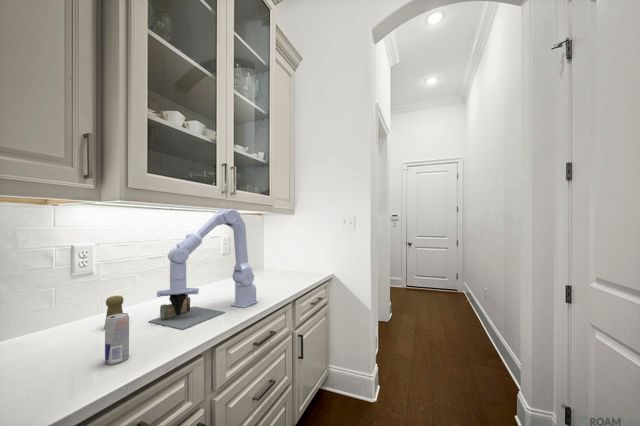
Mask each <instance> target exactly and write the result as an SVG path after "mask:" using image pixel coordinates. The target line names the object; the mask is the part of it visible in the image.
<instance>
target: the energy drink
mask: <svg viewBox="0 0 640 426" xmlns="http://www.w3.org/2000/svg"><path fill="white" fill-rule="evenodd" d="M104 327H105V329H104V363H105V364H106V365H117V364H120V363H123V362H125V361H127V360H128V359H129V358H130V316H129V313H128V312H123V313H118V314H113V315H110V316H108V317H106V316H105V320H104Z"/></svg>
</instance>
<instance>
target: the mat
mask: <svg viewBox="0 0 640 426" xmlns="http://www.w3.org/2000/svg"><path fill="white" fill-rule="evenodd" d="M223 314H226V311H222V310H216V309H211V308H205V307H198V306H190V311H186V312H183V313H180V315H174V316H172V317H169V318H166V319H160V317H158V318H153V319H151V320H148V323H150V324H155V325H159V326H163V327H167V328H172V329H176V330H181V331H184V330H187V329H189V328H191V327H194V326H196V325H199V324H202V323H204V322H206V321H208V320H211V319H214V318H216V317H218V316H221V315H223Z"/></svg>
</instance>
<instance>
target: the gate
mask: <svg viewBox="0 0 640 426" xmlns="http://www.w3.org/2000/svg"><path fill="white" fill-rule="evenodd" d="M160 307H161V319H166V318H169V317H172V316H174V315H176V314H175V310H174V307H173V305H172V303H169V304H165V303H164V304H161V305H160ZM190 307H191V297H189V296H188V297H187V298H185V300H184V302H183V305H182V309H181V313H183V312H186V311H190Z"/></svg>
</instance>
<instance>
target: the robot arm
mask: <svg viewBox="0 0 640 426" xmlns="http://www.w3.org/2000/svg"><path fill="white" fill-rule="evenodd" d="M223 225H224V226H228V228H230V229H232V231H233V241H234V256H235V257H234V258H235V265H234V266H233V272H232V279H233V281H234V303H231V304H230V306H231V307H237V308H247V307H249V306H251V305H254V304H257V303H258V302H259V301H258V300H257V286H256V284H254V280H255V275H254V272H253V268H252V266H251V265H250V264H249V258H248V257H249V256H248V243H247V242H248V241H247V231H246V230H247V229H246V223H245V221H244V220H243V218H242V217H241V213H240V212H239V211H238V210H236V209H234V208H228V209H220V210H218V211H217V212H216V213H215V214H213V216H211V217H210V218H209V219H208V220H207V221H206V222H205V223H204V224H203V225H202V226H201V227H200V229H198V230H197V232H195V233H194V232H191V233H189V234H188V233H187V234H186V235H185V238H184V239H183V240H182V241H181V242H179V243H177V244H176V245H175V246H176V247H173V248H172V249H170V250H169V253H168V255H167V258H168V260H169V261H170V262H169V289H163V290H158V291H157V292H156V298H160V297H168V299H169V301H170V304H172V305H173V307H174V310H175V314H176V315H180V313H181V309H182V305H183V302H184V300H185V298H186V296H187V295H188V296H189V295H198V294H199V291H200V289H199V288H195V287H194V288H191V287H187V261H188V259H189V256H190V255H191V254H192V253H193V252H194V251H195V250H197V248H198V247H199V246H200V245H202V243H203V238H205V237H206V236H207V235H208V234H210V232H211V231H213V230H214V229H216V227H217V226H223Z"/></svg>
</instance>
